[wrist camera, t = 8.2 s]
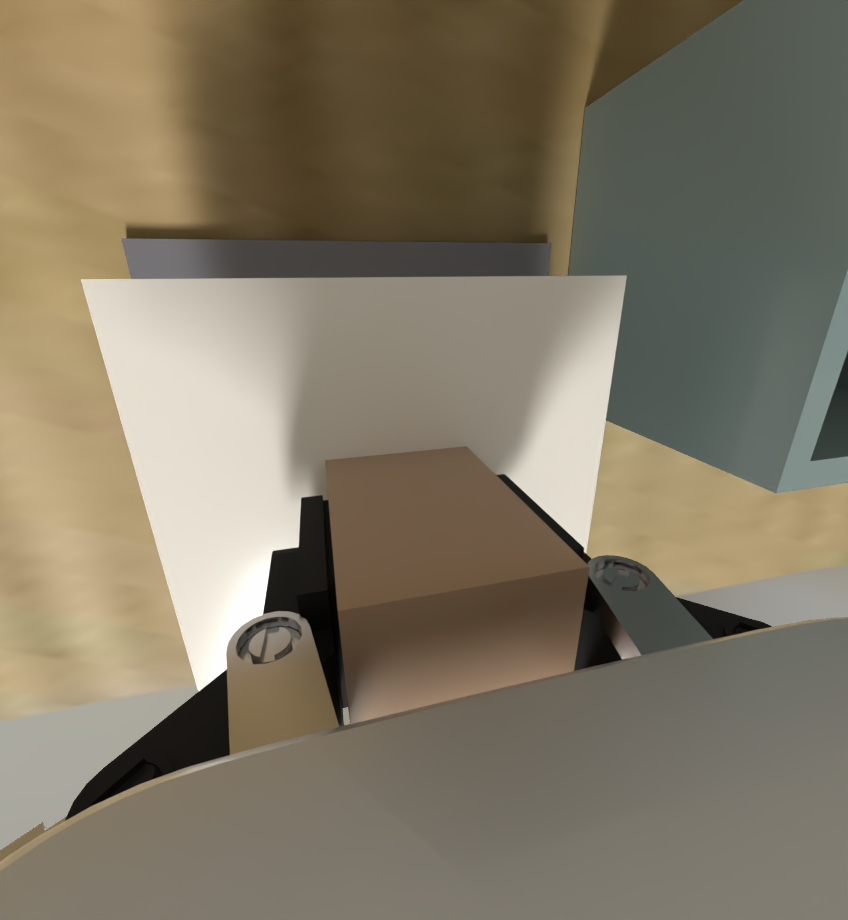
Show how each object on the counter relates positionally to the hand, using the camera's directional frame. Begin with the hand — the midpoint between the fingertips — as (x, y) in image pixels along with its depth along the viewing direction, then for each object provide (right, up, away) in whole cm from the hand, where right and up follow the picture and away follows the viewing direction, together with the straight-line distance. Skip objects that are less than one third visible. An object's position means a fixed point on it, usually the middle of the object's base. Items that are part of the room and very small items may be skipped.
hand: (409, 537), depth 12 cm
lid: (-1, +1, +2) cm, 2 cm away
